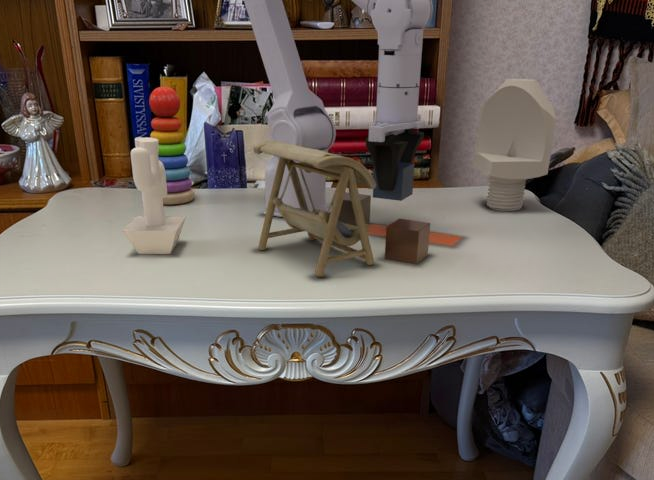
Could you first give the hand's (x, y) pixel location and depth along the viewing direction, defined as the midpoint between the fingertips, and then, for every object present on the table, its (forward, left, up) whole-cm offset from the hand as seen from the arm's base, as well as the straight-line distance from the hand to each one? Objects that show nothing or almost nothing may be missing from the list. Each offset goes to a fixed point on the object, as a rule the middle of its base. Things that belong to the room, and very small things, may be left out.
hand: (392, 186), depth 97 cm
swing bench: (-5, -16, -7) cm, 18 cm away
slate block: (0, 0, -1) cm, 1 cm away
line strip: (0, 0, -7) cm, 7 cm away
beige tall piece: (+11, +23, -7) cm, 27 cm away
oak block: (-7, 0, -7) cm, 9 cm away
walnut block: (+6, -10, -7) cm, 14 cm away
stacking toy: (-42, 0, -7) cm, 42 cm away
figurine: (-26, -23, -7) cm, 35 cm away
